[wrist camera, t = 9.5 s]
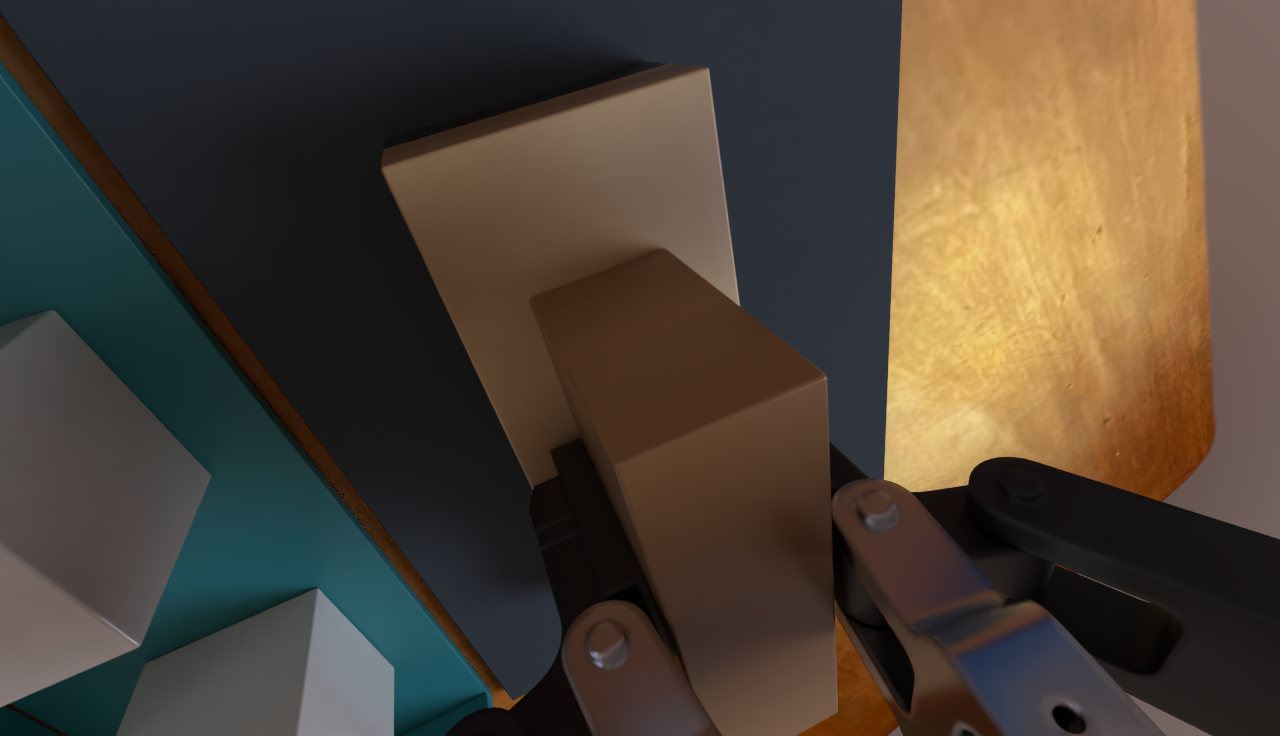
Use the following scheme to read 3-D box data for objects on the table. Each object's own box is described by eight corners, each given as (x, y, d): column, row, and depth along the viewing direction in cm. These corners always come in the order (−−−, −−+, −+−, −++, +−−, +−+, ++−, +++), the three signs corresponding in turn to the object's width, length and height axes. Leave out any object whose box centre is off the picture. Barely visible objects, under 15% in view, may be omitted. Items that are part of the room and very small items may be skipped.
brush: (382, 140, 10) (363, 289, 4) (649, 60, 10) (946, 88, 5) (586, 584, 17) (681, 859, 11) (732, 515, 18) (890, 737, 12)
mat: (-15, -24, 7) (-34, -28, 7) (896, -231, 10) (912, -239, 10) (510, 689, 19) (512, 701, 18) (875, 508, 21) (882, 515, 21)
